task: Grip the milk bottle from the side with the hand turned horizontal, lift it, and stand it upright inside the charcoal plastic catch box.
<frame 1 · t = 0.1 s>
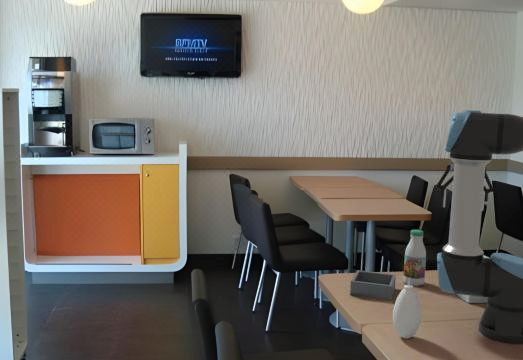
hand: (462, 208, 222), 28 cm above the table, tool pointing down, fingers open, 13 cm apart
catch box: (373, 291, 210), on the table
supplement box: (473, 299, 205), on the table
white squeeze bottle: (405, 337, 171), on the table
milk bottle: (413, 283, 221), on the table
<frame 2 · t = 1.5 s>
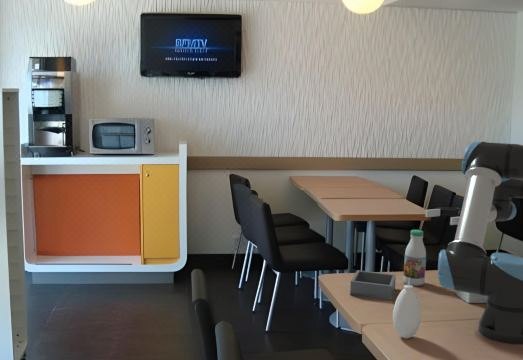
hand: (438, 217, 221), 24 cm above the table, tool horizontal, fingers open, 13 cm apart
nothing on the table moved.
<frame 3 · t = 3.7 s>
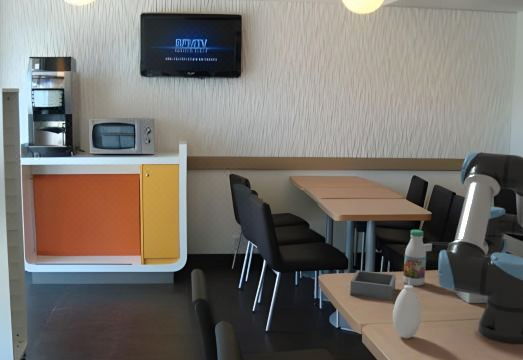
hand: (429, 252, 222), 11 cm above the table, tool horizontal, fingers open, 13 cm apart
nothing on the table moved.
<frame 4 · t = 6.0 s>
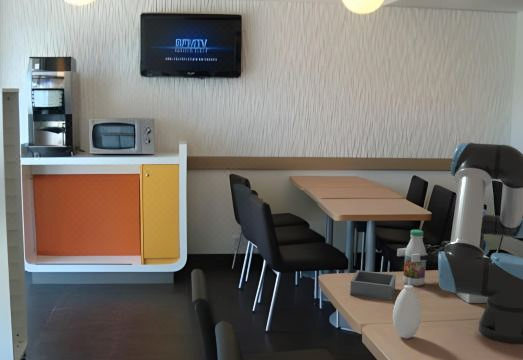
hand: (404, 255, 217), 11 cm above the table, tool horizontal, fingers closed on milk bottle, 8 cm apart
milk bottle: (413, 283, 221), on the table, touching gripper
everything else where it was.
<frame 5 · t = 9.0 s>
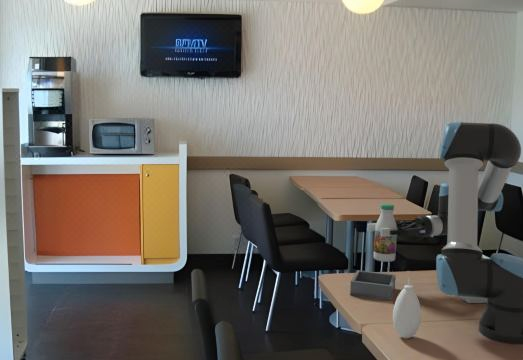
hand: (374, 230, 209), 22 cm above the table, tool horizontal, fingers closed on milk bottle, 8 cm apart
milk bottle: (384, 259, 212), point 11 cm above the table, touching gripper
everything else where it was.
when the fingers open (13 cm above the table, at t = 12.0 s): milk bottle drops 1 cm, resting on catch box.
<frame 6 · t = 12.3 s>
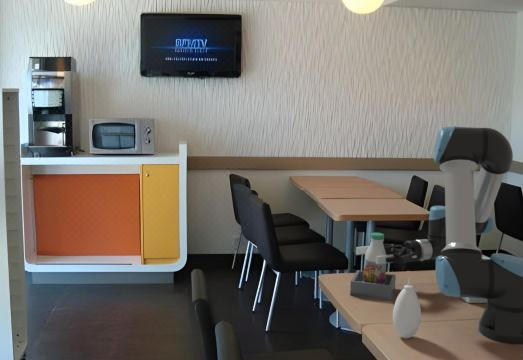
hand: (366, 255, 206), 13 cm above the table, tool horizontal, fingers open, 12 cm apart
milk bottle: (373, 289, 210), point 1 cm above the table, touching catch box
everything else where it was.
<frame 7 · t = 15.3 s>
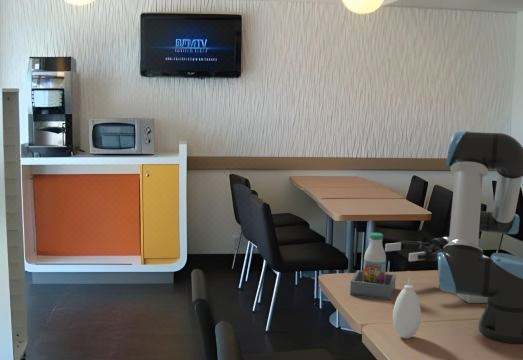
hand: (397, 252, 212), 14 cm above the table, tool horizontal, fingers open, 13 cm apart
nothing on the table moved.
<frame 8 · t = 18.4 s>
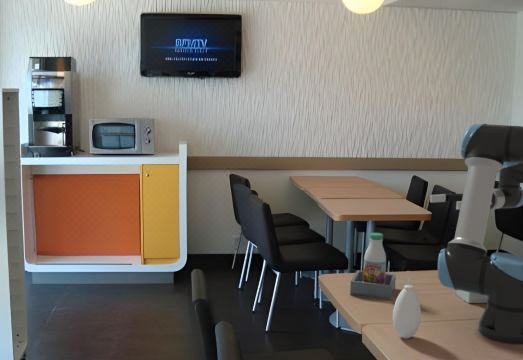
hand: (443, 202, 211), 32 cm above the table, tool horizontal, fingers open, 13 cm apart
nothing on the table moved.
at the end: milk bottle inside the target area on the catch box (0.0 cm from its centre), point 0.8 cm above the catch box's base; milk bottle tilted 0°; the gripper is holding nothing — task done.
